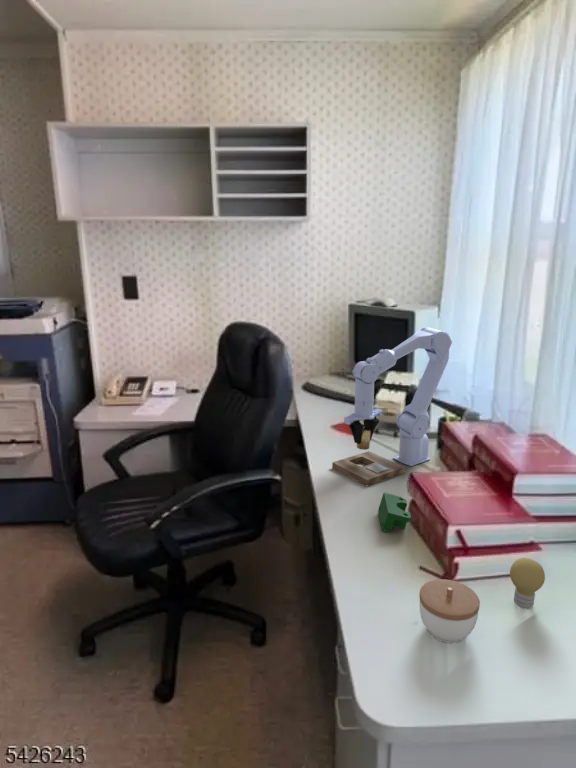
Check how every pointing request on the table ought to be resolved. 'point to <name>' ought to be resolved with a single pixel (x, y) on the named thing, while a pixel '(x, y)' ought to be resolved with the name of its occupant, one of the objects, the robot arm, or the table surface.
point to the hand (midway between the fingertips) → (362, 441)
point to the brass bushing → (365, 439)
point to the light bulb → (526, 581)
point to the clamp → (393, 512)
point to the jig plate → (368, 468)
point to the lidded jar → (448, 609)
